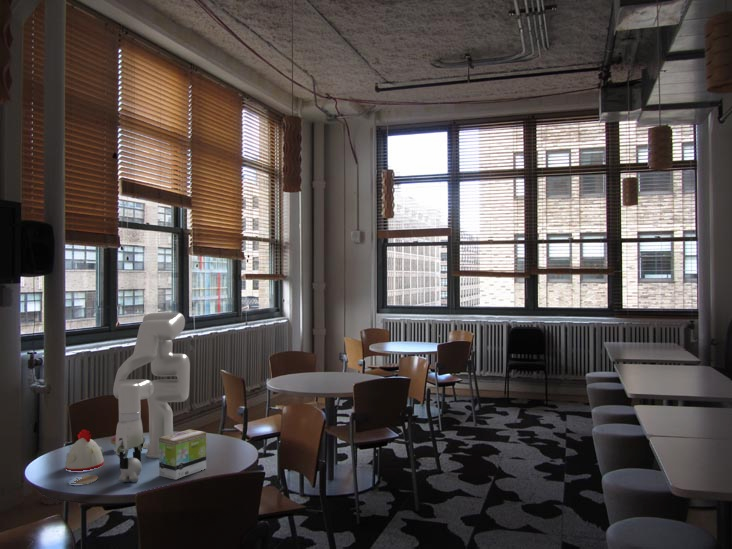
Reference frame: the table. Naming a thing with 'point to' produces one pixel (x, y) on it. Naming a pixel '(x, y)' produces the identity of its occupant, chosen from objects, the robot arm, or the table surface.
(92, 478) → the cork coaster
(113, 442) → the cupcake
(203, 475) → the table surface
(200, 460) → the tea box
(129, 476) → the chubby cartoon animal
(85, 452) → the white cream cake
